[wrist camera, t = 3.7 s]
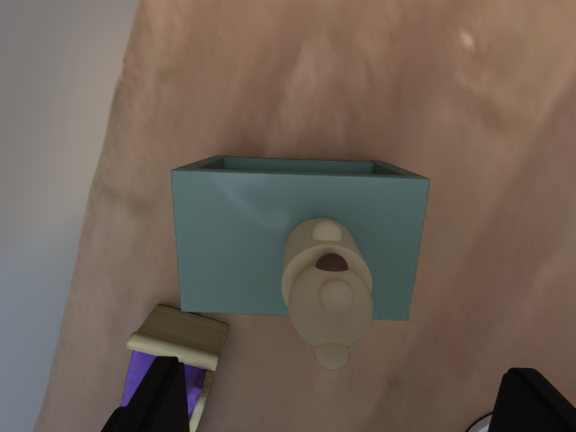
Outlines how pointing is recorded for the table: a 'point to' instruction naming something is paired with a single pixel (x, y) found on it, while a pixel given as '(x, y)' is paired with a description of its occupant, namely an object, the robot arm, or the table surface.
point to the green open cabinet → (291, 228)
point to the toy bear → (326, 289)
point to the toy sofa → (178, 353)
